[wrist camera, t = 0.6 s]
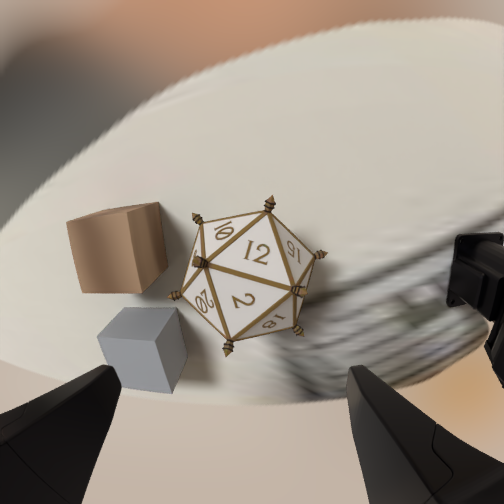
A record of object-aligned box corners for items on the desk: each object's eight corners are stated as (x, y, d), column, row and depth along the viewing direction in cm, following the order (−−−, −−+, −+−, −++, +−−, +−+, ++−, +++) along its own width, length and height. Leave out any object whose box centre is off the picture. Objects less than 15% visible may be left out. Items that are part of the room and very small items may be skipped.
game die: (258, 265, 24) (229, 378, 18) (181, 203, 20) (121, 326, 14) (352, 230, 18) (345, 377, 13) (273, 137, 14) (218, 305, 8)
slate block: (176, 307, 22) (154, 341, 17) (188, 356, 23) (172, 394, 18) (124, 306, 22) (96, 336, 18) (139, 353, 24) (117, 386, 19)
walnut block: (158, 201, 20) (126, 212, 15) (168, 266, 21) (142, 293, 16) (104, 209, 20) (66, 222, 15) (115, 269, 21) (82, 293, 17)
